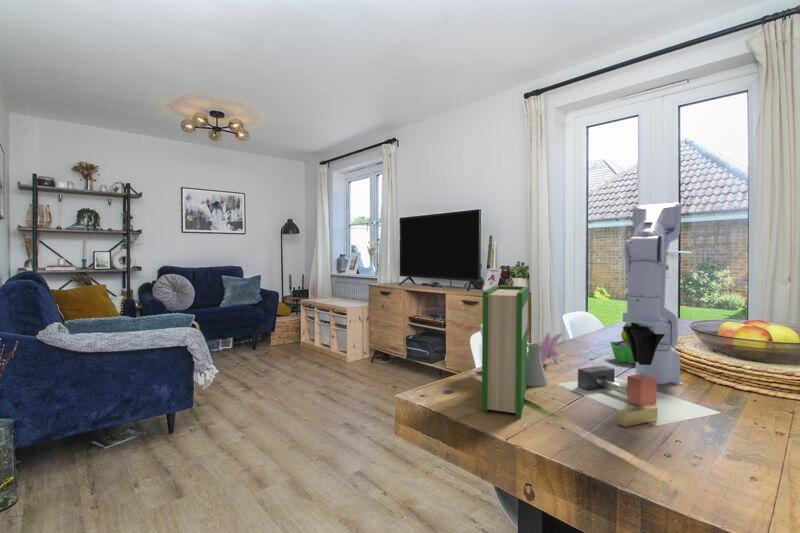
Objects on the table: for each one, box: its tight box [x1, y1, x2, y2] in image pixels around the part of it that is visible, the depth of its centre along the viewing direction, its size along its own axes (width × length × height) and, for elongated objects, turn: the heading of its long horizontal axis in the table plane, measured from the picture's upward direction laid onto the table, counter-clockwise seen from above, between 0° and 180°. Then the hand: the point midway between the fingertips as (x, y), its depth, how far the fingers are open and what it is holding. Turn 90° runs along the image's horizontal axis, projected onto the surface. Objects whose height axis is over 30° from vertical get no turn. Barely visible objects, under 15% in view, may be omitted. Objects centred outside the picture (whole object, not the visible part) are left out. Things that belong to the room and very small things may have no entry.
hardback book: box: [481, 285, 529, 419], centre depth 86 cm, size 18×7×24 cm, turn 159°
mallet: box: [597, 374, 658, 406], centre depth 88 cm, size 4×16×5 cm, turn 20°
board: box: [556, 376, 722, 427], centre depth 86 cm, size 18×25×1 cm
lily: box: [534, 332, 563, 366], centre depth 112 cm, size 12×12×10 cm
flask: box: [527, 342, 549, 387], centre depth 96 cm, size 7×7×10 cm
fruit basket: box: [609, 322, 636, 364], centre depth 119 cm, size 11×9×11 cm
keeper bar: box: [616, 405, 658, 428], centre depth 72 cm, size 8×2×2 cm, turn 110°
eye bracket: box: [577, 365, 616, 391], centre depth 92 cm, size 8×3×4 cm, turn 110°
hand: (642, 363), depth 81 cm, fingers closed
